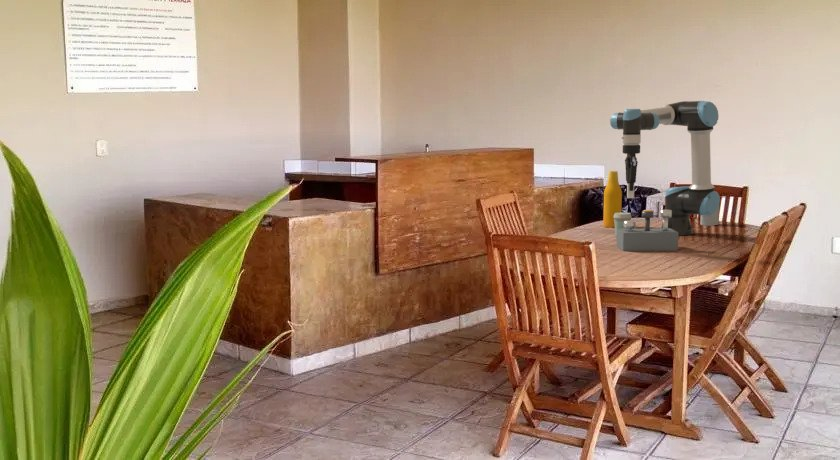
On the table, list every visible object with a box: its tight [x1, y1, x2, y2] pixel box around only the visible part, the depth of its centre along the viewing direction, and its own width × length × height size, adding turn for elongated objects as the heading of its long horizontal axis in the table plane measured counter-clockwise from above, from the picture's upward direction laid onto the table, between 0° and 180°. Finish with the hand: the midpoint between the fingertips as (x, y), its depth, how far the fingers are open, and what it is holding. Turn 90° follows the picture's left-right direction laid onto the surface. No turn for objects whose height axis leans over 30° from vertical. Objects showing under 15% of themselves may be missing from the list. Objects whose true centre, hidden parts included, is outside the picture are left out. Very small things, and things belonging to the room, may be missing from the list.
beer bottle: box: [602, 170, 623, 229], centre depth 454 cm, size 9×9×29 cm
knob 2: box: [659, 209, 672, 231], centre depth 386 cm, size 5×5×12 cm
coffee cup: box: [614, 211, 632, 239], centre depth 416 cm, size 8×8×12 cm
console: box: [616, 227, 679, 252], centre depth 387 cm, size 24×12×8 cm, turn 90°
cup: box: [699, 206, 720, 227], centre depth 458 cm, size 9×9×12 cm
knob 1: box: [624, 220, 636, 231], centre depth 386 cm, size 5×5×12 cm
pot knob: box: [641, 209, 655, 231], centre depth 386 cm, size 5×5×12 cm
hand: (630, 197), depth 384 cm, fingers closed
